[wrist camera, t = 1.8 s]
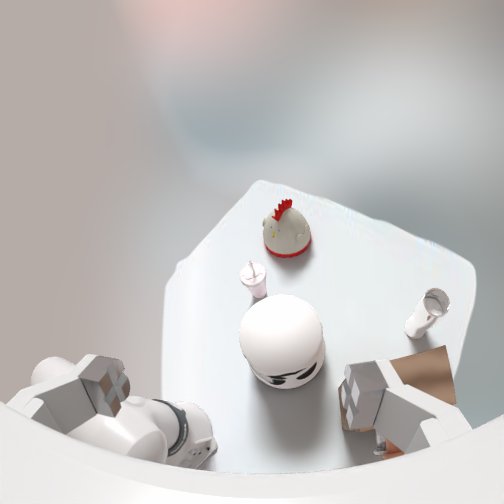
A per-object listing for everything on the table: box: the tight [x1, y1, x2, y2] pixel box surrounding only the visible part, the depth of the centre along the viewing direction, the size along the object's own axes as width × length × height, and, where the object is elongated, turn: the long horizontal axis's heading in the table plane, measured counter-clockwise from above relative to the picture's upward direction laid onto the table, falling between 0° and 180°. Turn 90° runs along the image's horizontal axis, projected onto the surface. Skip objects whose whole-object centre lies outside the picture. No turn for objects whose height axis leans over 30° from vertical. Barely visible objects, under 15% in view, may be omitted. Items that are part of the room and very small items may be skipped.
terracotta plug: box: [382, 438, 404, 460], centre depth 36 cm, size 8×5×5 cm, turn 2°
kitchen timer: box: [263, 199, 311, 258], centre depth 77 cm, size 14×14×15 cm
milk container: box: [239, 295, 325, 389], centre depth 55 cm, size 17×17×18 cm
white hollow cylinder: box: [405, 288, 450, 339], centre depth 53 cm, size 7×7×15 cm
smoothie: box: [240, 261, 266, 298], centre depth 68 cm, size 6×6×14 cm
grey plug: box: [373, 429, 387, 455], centre depth 42 cm, size 8×5×5 cm, turn 3°
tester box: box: [338, 345, 456, 432], centre depth 42 cm, size 10×16×24 cm, turn 92°
